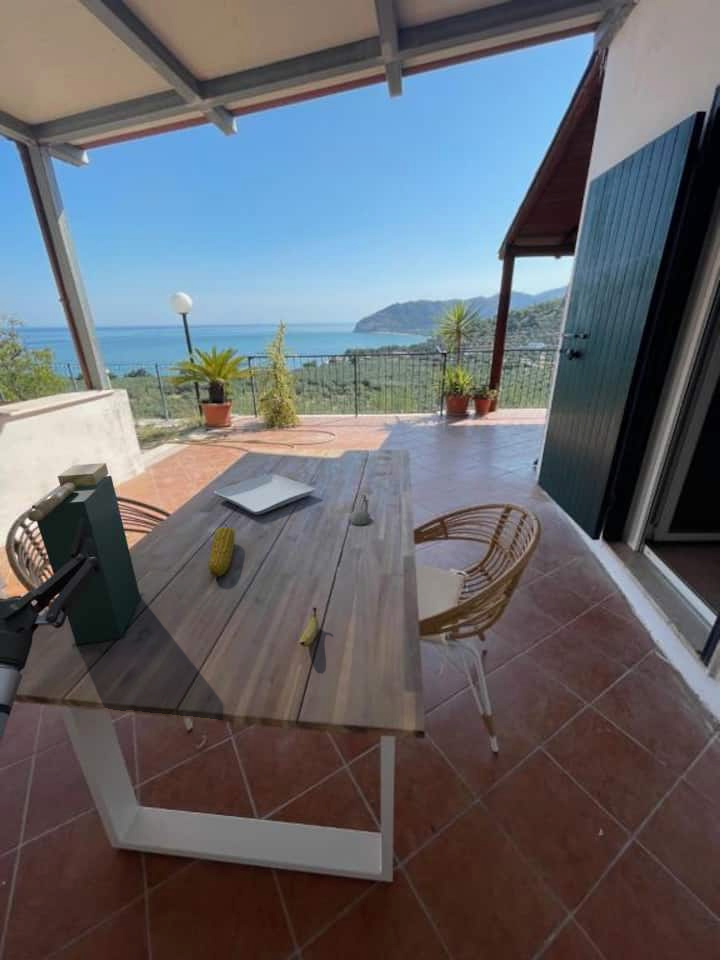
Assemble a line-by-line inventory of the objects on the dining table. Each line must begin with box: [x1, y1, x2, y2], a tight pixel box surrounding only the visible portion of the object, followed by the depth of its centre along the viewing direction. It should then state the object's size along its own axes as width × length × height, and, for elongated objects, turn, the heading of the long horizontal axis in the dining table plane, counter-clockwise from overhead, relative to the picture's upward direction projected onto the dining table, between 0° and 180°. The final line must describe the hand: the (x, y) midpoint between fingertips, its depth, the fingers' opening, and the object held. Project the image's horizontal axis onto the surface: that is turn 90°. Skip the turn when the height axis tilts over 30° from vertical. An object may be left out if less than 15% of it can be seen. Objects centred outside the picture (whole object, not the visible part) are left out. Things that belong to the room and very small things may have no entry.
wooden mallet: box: [26, 462, 109, 522], centre depth 70 cm, size 6×24×2 cm, turn 14°
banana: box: [298, 607, 319, 647], centre depth 77 cm, size 10×2×4 cm, turn 172°
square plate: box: [213, 473, 316, 516], centre depth 146 cm, size 27×27×4 cm
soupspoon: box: [349, 494, 371, 526], centre depth 135 cm, size 22×3×7 cm
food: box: [209, 526, 236, 577], centre depth 105 cm, size 21×6×6 cm, turn 14°
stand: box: [31, 475, 141, 646], centre depth 79 cm, size 8×14×30 cm, turn 14°
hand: (37, 527), depth 61 cm, fingers open, 13 cm apart
